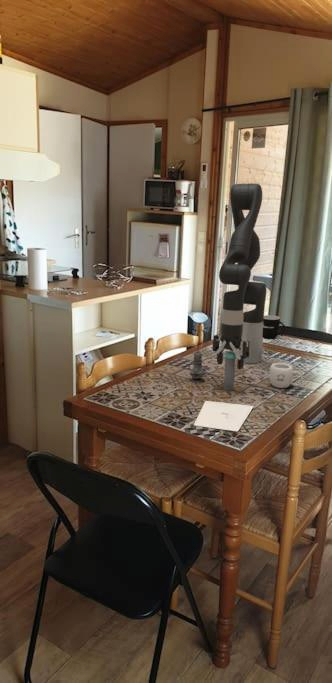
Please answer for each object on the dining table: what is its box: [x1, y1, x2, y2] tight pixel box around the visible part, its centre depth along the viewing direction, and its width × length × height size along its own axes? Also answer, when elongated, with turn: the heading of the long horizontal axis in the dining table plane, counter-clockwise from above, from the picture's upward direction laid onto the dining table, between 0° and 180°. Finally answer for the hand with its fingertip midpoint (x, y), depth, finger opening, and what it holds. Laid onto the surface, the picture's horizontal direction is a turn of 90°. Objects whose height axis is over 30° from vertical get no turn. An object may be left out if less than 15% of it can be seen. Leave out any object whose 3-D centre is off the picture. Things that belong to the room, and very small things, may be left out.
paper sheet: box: [193, 400, 255, 432], centre depth 173 cm, size 24×29×1 cm
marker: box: [223, 350, 237, 392], centre depth 192 cm, size 4×4×14 cm
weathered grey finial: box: [189, 349, 206, 384], centre depth 200 cm, size 6×6×12 cm
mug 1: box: [262, 314, 286, 340], centre depth 262 cm, size 12×9×10 cm
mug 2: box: [268, 362, 304, 389], centre depth 196 cm, size 12×8×8 cm
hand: (229, 366), depth 191 cm, fingers open, 8 cm apart
